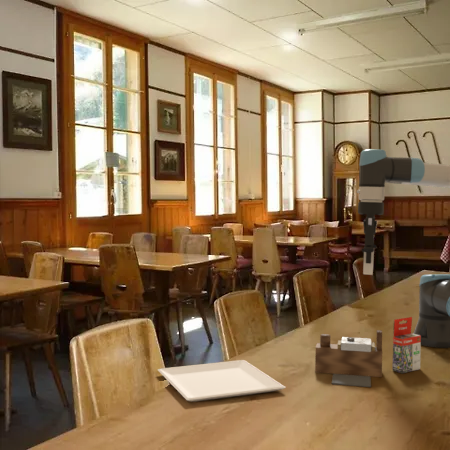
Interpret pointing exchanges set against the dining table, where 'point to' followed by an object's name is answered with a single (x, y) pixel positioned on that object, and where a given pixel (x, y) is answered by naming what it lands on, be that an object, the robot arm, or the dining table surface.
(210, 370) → the plate
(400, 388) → the dining table surface
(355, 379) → the rubber mat
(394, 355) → the ink box
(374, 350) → the body
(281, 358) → the dining table surface
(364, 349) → the lever cap
